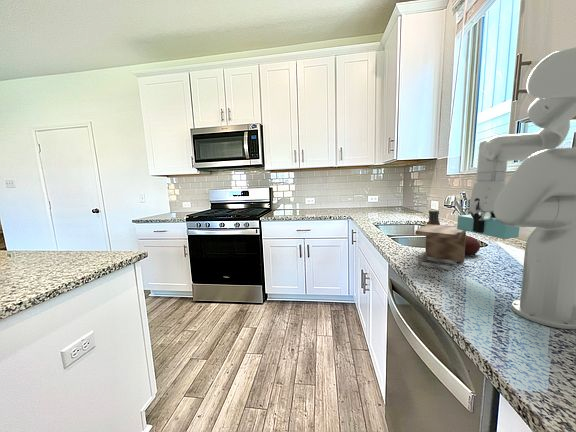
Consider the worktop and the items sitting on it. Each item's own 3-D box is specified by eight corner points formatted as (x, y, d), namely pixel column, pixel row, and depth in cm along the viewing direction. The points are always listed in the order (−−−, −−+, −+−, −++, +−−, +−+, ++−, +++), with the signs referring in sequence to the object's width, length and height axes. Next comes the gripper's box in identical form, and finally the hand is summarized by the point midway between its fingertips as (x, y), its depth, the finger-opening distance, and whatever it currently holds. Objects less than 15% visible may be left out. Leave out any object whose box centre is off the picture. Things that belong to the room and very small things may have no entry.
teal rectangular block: (456, 229, 93) (457, 215, 92) (469, 227, 94) (470, 214, 94) (504, 239, 78) (506, 223, 77) (518, 237, 79) (520, 221, 78)
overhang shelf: (464, 261, 104) (466, 227, 102) (456, 274, 90) (458, 234, 88) (426, 255, 113) (427, 224, 111) (414, 267, 99) (415, 230, 97)
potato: (457, 257, 110) (458, 238, 109) (444, 250, 121) (445, 233, 120) (486, 257, 108) (487, 238, 107) (470, 250, 119) (472, 233, 118)
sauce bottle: (442, 255, 114) (445, 211, 111) (427, 254, 115) (429, 211, 113) (437, 251, 120) (439, 209, 118) (422, 250, 122) (424, 209, 119)
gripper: (497, 176, 89) (492, 226, 92) (459, 178, 84) (455, 231, 87) (522, 176, 82) (516, 231, 85) (482, 178, 77) (477, 236, 80)
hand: (485, 230), depth 86 cm, fingers closed on teal rectangular block, 6 cm apart
